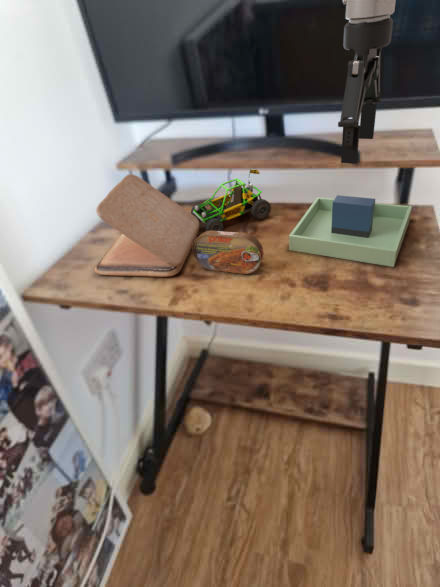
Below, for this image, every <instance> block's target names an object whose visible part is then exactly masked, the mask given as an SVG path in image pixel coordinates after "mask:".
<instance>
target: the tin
mask: <svg viewBox="0 0 440 587" xmlns="http://www.w3.org/2000/svg"><path fill="white" fill-rule="evenodd" d="M191 250H192V255H193V257H194V259H195V261H196V262H197V264H199V265H200V266H201V267H202V268H204V269H206V270H209V271H212V272H213V271H215V272H225V273H233V274H239V275H240V274H241V275H248V274H249V275H250V274H252V273H255V272H256V271H257V270H258V269H259V268H260V266H261V264H262V261H263V259H264V253H265V252H264V248H263V245H262V243H261V241H259V239H258V238H256V236H254V235H252V234H250V233H247V232H239V231H224V230H223V231H206V230H205V231H203V232H202V233H201V234H200V235H199V236H197V237H196V239H195V241H194V242H193V245H192V247H191Z"/></svg>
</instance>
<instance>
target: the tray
mask: <svg viewBox="0 0 440 587" xmlns="http://www.w3.org/2000/svg"><path fill="white" fill-rule="evenodd" d="M334 199H335V198H331V197H321V196H316V198H315V200H314V201H313V202H312V204H311V205H310V206H309V208H308V209H307V210H306V212H305V213H304V214H303V216H302V217H301V219H300V220H299V221H298V223H297V224H296V226H295V227H294V228H293V230H292V231H291V232H290V234H289V235H288V250H289V251H293V252H299V253H304V254H310V255H311V254H312V255H317V256H323V257H331V258H336V259H341V260H348V261H355V262H361V263H367V264H372V265H373V264H374V265H379V266H385V267H390V268H391V267H392V268H394V267H395V265H396V262H397V259H398V256H399V252H400V250H401V247H402V245H403V241H404V238H405V236H406V232H407V229H408V226H409V224H410V221H411V216H412V209H413V206H412V205H402V204H393V203H392V204H391V203H384V202H383V203H382V202H375V207H374V216H373V224H372V231H371V233H370V235H369V237H368V238H365V237H357V236H350V235H343V234H335V233H331V228H332V206H333V201H334Z"/></svg>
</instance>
